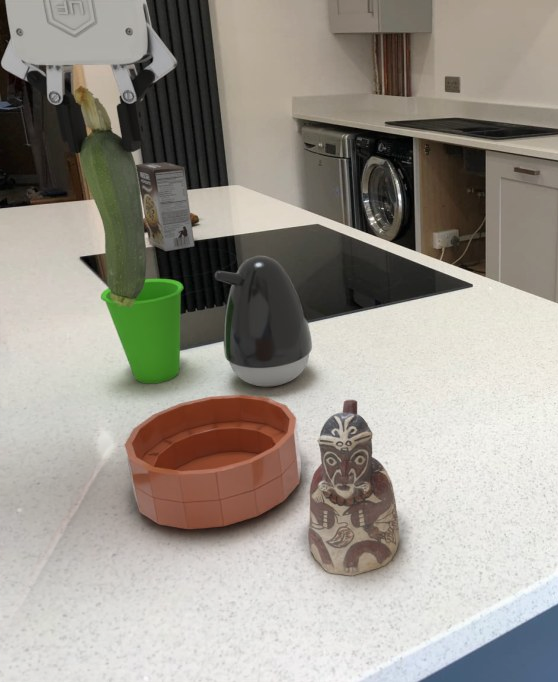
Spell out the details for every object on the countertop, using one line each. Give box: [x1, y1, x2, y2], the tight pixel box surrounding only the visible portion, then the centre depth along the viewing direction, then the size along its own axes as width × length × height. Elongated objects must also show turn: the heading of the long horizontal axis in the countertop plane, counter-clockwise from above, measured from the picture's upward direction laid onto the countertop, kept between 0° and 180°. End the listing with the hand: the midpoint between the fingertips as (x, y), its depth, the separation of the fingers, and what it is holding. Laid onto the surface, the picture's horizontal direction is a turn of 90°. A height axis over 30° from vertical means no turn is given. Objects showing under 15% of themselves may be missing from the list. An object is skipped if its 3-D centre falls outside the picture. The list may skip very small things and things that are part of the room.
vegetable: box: [74, 85, 147, 308], centre depth 66 cm, size 4×4×20 cm
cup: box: [100, 278, 184, 384], centre depth 88 cm, size 9×9×11 cm
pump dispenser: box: [214, 255, 313, 388], centre depth 86 cm, size 10×10×15 cm
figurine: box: [307, 399, 400, 577], centre depth 57 cm, size 7×7×12 cm
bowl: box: [123, 394, 302, 530], centre depth 66 cm, size 14×14×6 cm
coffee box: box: [135, 161, 195, 252], centre depth 147 cm, size 9×6×16 cm
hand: (106, 148), depth 64 cm, fingers closed on vegetable, 3 cm apart
